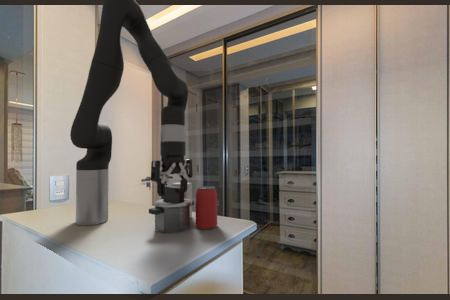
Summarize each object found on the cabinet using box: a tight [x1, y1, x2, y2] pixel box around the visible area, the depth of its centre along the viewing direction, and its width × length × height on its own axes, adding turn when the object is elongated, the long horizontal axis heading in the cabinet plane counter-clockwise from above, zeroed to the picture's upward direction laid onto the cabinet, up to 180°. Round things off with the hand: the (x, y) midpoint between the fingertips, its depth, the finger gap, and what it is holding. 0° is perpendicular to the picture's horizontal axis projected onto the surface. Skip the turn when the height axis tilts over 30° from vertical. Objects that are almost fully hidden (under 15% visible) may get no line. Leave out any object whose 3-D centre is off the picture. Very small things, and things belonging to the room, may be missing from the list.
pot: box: [148, 200, 195, 234], centre depth 69 cm, size 10×15×7 cm, turn 143°
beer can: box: [195, 185, 218, 230], centre depth 69 cm, size 7×7×12 cm
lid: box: [153, 185, 193, 209], centre depth 69 cm, size 11×11×5 cm
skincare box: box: [170, 182, 193, 218], centre depth 80 cm, size 6×4×12 cm
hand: (173, 193), depth 69 cm, fingers open, 8 cm apart
